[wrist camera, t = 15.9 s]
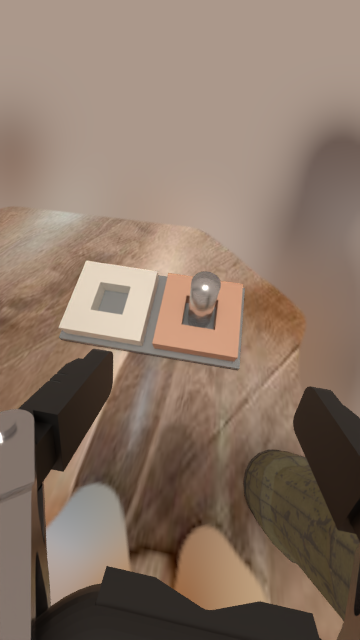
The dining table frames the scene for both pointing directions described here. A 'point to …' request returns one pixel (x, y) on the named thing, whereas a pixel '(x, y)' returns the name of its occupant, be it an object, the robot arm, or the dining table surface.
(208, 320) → the steel pin
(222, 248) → the dining table surface
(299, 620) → the robot arm
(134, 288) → the dock board
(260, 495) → the thermos
